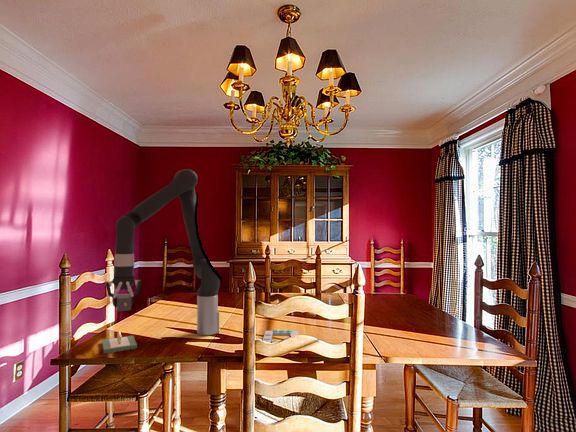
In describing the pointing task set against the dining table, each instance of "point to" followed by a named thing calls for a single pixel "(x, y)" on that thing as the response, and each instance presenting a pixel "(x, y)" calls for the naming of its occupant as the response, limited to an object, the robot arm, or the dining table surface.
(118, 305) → the plug housing
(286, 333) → the electronic device
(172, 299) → the dining table surface
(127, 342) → the header board
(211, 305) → the robot arm
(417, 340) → the dining table surface
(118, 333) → the header pins
